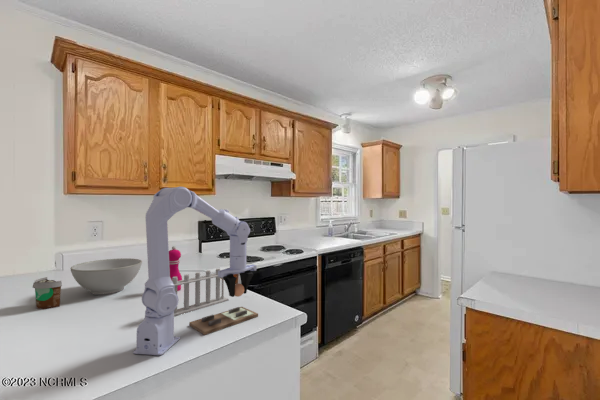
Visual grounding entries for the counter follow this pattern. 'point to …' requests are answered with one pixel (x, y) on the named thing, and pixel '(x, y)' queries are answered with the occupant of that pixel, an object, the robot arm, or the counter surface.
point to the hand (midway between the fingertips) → (237, 294)
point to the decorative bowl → (106, 274)
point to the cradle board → (222, 320)
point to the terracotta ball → (239, 289)
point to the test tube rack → (197, 292)
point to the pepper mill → (175, 265)
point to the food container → (47, 293)
